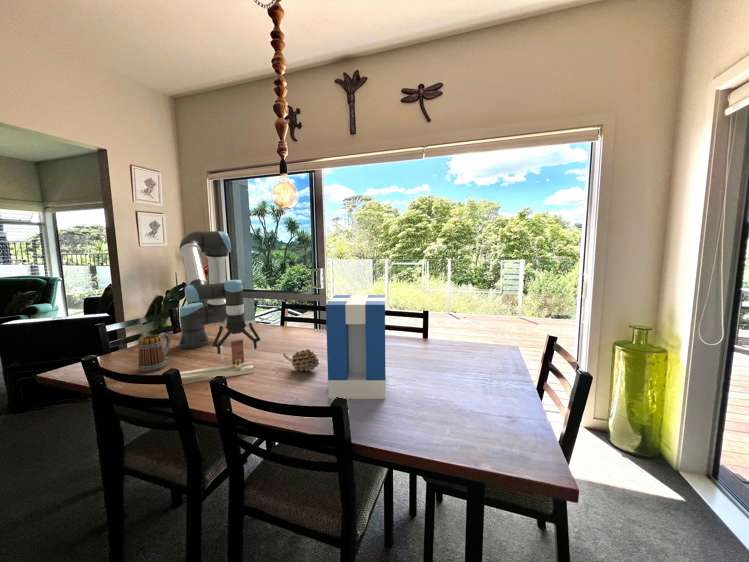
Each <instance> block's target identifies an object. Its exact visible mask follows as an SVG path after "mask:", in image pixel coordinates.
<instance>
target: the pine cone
mask: <svg viewBox="0 0 749 562" xmlns="http://www.w3.org/2000/svg"><path fill="white" fill-rule="evenodd" d="M282 355H283V358H285V359H286V360H288V361H289V362H291V364H292V367H293V368H294V370H296V371H298V370H299V371H300V372H304V371H305V372H308V371H314V370H315V368H317V367H318V366H319V365H320V363H319V361H320V360H319V358H318V357H317V356H318V354H316V353H314V350H313V351H311V349H309V348H307V349H306V350H305V349H303V350H301V351H296V353H295V354H293V355H292V357H290V356H288V355H287V353H285V352H283V353H282Z"/></svg>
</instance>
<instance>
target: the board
mask: <svg viewBox="0 0 749 562" xmlns="http://www.w3.org/2000/svg"><path fill="white" fill-rule="evenodd" d="M179 372H180V374H181V378H182V381H183V384H182V385H187V384H192V383H197V382H198V383H199V382H204V381H205V382H206V381H210V380H213V379H212V378H214V377H216V376H225V377H224V378H229V377H234V376H240V375H246V374H247V375H248V374H252V373H254V363H253V361H244V363H241V370H235V364H225V365H220V366H219V365H218V366H213V367H212V366H211V367H206V368H200V369H193V370H192V369H191V370H186V371H179Z"/></svg>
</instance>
